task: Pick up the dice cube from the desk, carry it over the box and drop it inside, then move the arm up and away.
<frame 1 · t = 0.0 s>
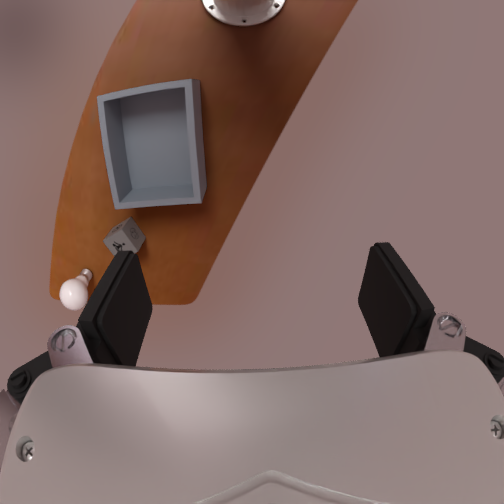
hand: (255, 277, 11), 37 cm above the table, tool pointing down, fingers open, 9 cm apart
lightbulb: (88, 271, 56), on the table
dice cube: (129, 231, 51), on the table
box: (160, 138, 42), on the table
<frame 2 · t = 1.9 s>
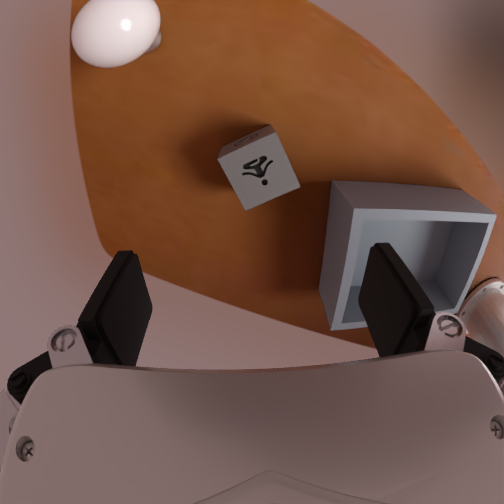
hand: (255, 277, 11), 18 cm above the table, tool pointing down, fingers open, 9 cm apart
lightbulb: (150, 40, 20), on the table
dice cube: (257, 157, 27), on the table
box: (395, 239, 31), on the table
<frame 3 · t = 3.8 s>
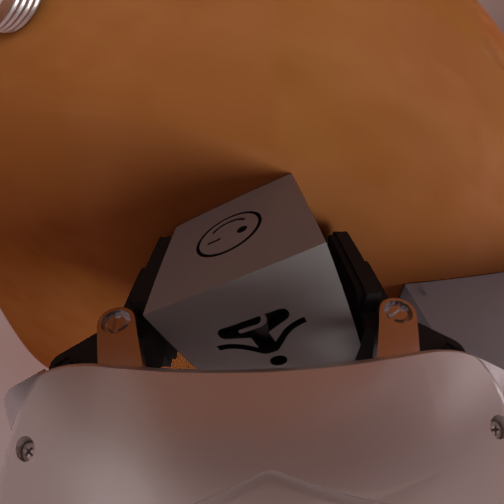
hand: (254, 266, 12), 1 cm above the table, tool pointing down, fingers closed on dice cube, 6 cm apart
lightbulb: (31, 6, 5), on the table
dice cube: (258, 247, 12), on the table, touching gripper
box: (465, 342, 17), on the table
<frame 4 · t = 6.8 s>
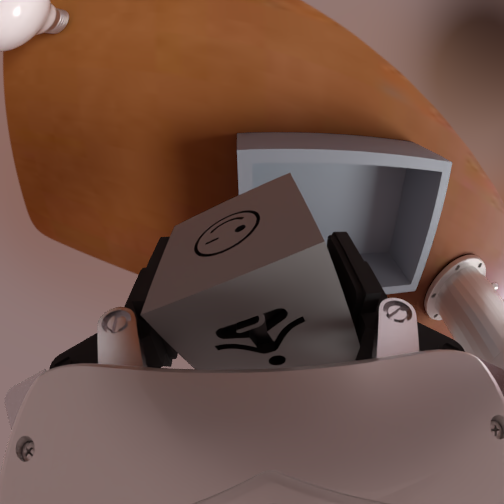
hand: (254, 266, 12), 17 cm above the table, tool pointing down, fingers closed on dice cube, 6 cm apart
lightbulb: (62, 22, 16), on the table
dice cube: (256, 247, 12), point 16 cm above the table, touching gripper
box: (328, 201, 28), on the table
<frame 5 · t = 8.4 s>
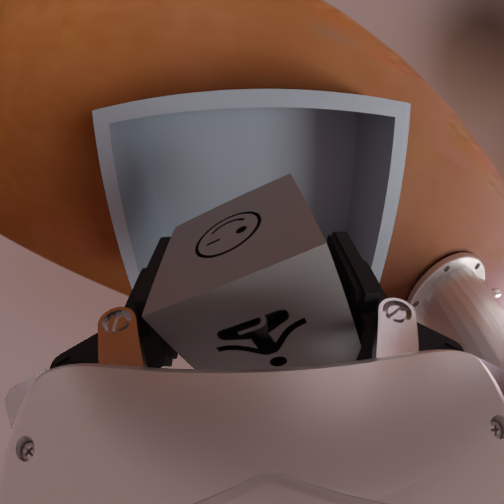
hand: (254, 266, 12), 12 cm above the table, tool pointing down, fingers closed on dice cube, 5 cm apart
dice cube: (257, 248, 12), point 12 cm above the table, touching gripper
box: (252, 176, 22), on the table
when the fingers open (9 cm above the table, at t = 9.4 s): dice cube drops 8 cm, resting on box.
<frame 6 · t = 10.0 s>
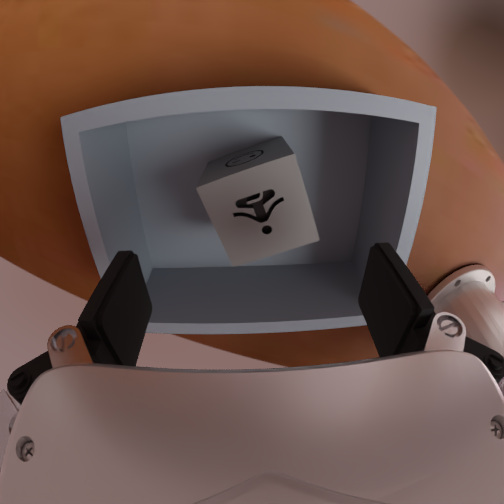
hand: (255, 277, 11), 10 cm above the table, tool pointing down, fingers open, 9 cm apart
dice cube: (257, 182, 19), point 1 cm above the table, touching box
box: (250, 187, 20), on the table
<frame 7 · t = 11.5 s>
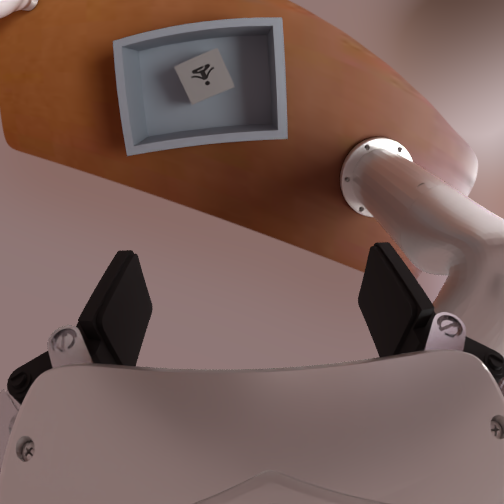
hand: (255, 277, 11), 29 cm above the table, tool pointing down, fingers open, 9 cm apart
lightbulb: (34, 4, 19), on the table
dice cube: (208, 77, 30), point 1 cm above the table, touching box
box: (205, 83, 31), on the table
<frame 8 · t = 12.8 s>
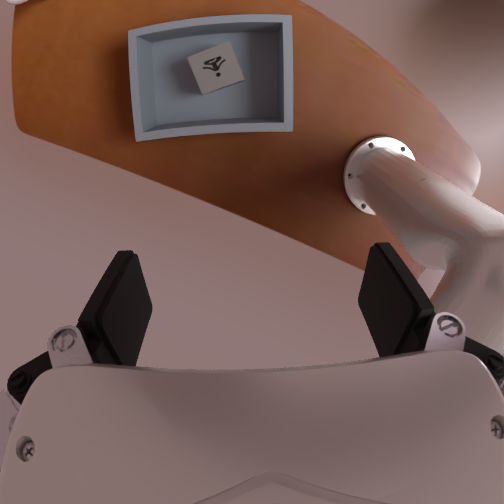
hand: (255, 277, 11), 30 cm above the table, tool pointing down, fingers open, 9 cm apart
dice cube: (219, 70, 31), point 1 cm above the table, touching box
box: (215, 76, 32), on the table
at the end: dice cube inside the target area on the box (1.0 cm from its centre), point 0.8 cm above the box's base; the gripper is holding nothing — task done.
